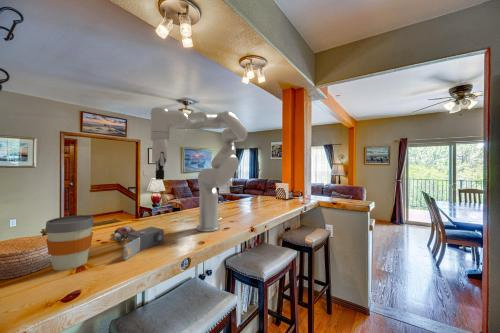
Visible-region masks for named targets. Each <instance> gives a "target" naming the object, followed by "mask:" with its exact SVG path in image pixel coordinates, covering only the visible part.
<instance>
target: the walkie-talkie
mask: <svg viewBox="0 0 500 333" xmlns="http://www.w3.org/2000/svg"><path fill="white" fill-rule="evenodd" d="M134 231H136V230H135V229H134V228H133V227H131V226H127V225H125V226H122V227H117V228H115V230H114V234H113V239H114V240H115V241H116V240H118V241H119V242H120V243H122V244H124V245H125V244H126V243H125V240H128V239H127V238H128V233H131V232H134ZM122 239H123V240H122Z"/></svg>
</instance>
